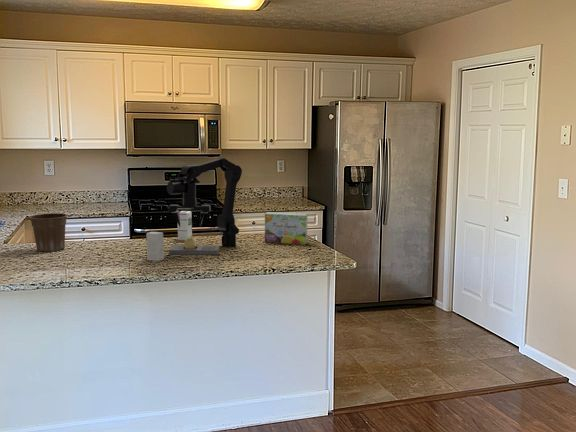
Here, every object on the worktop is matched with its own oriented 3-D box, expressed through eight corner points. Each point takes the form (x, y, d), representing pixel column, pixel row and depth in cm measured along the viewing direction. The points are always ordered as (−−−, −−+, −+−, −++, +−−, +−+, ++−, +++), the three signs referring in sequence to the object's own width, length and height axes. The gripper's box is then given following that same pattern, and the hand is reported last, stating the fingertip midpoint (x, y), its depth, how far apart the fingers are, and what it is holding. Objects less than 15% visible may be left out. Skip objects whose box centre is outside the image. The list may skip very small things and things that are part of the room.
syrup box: (188, 240, 291) (187, 212, 289) (177, 240, 292) (177, 212, 290) (192, 238, 296) (192, 211, 294) (181, 238, 298) (181, 210, 295)
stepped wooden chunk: (196, 251, 266) (195, 236, 265) (194, 253, 262) (194, 238, 261) (186, 251, 266) (186, 236, 265) (185, 253, 262) (184, 238, 260)
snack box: (264, 242, 288) (264, 213, 285) (267, 240, 293) (267, 211, 291) (305, 244, 283) (305, 214, 281) (307, 242, 289) (307, 213, 286)
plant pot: (38, 254, 255) (36, 219, 253) (26, 249, 267) (24, 215, 265) (74, 250, 266) (72, 216, 263) (61, 244, 278) (60, 212, 275)
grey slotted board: (219, 249, 270) (219, 245, 269) (217, 254, 259) (217, 250, 259) (173, 249, 269) (172, 245, 269) (169, 254, 258) (168, 250, 258)
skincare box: (164, 259, 249) (163, 232, 247) (159, 261, 245) (158, 234, 243) (152, 258, 251) (151, 231, 249) (146, 260, 247) (146, 233, 245)
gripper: (211, 191, 268) (212, 224, 270) (171, 191, 267) (172, 224, 270) (209, 194, 257) (209, 228, 259) (167, 193, 256) (168, 227, 259)
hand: (190, 226), depth 262 cm, fingers open, 9 cm apart
